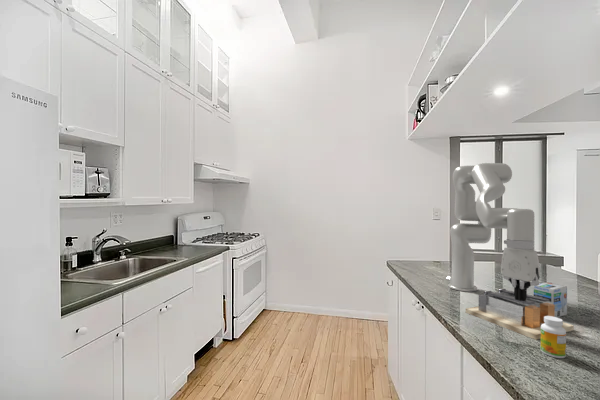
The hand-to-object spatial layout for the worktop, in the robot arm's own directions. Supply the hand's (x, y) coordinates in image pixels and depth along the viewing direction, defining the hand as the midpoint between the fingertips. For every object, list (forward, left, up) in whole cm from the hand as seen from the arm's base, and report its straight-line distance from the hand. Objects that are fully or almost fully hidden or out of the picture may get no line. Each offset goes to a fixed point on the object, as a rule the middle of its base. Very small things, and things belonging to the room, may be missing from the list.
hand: (520, 299), depth 101 cm
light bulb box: (-4, +24, -9) cm, 26 cm away
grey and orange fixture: (-4, +4, -8) cm, 10 cm away
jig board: (-4, +4, -9) cm, 11 cm away
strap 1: (-4, 0, -1) cm, 4 cm away
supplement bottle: (+15, -11, -9) cm, 21 cm away
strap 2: (-4, +8, -1) cm, 9 cm away
